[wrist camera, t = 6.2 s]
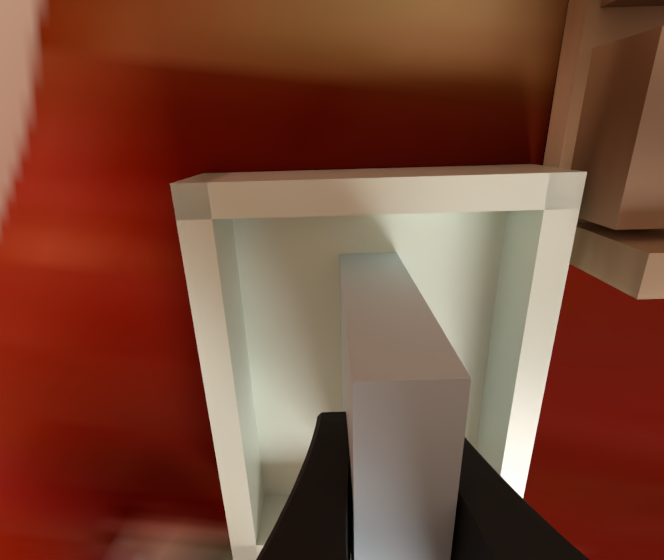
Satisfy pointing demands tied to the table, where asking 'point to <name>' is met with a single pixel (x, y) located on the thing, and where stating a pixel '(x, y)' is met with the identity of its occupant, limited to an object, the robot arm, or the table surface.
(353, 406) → the block
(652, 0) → the offcut
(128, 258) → the table surface
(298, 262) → the tray
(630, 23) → the rack
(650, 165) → the offcut
